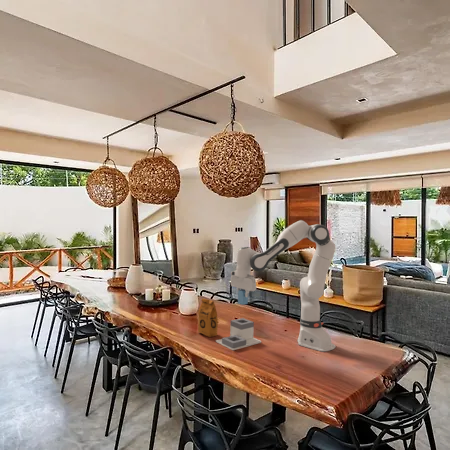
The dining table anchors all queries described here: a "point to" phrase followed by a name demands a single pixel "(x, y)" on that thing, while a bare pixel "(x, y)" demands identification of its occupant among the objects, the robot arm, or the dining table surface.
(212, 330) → the coffee package
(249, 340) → the square socket plate
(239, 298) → the plug
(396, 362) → the dining table surface
